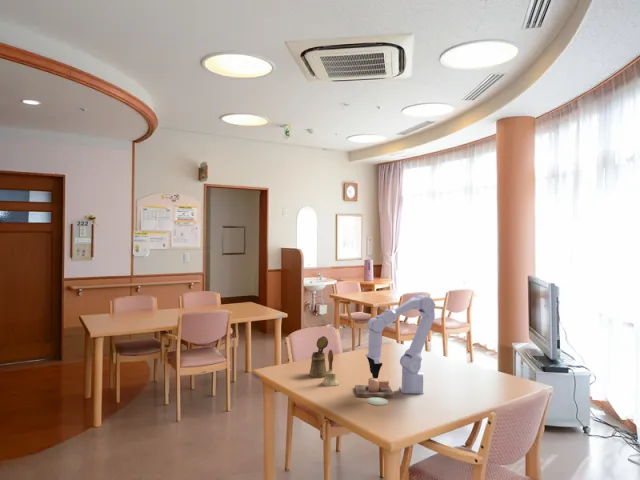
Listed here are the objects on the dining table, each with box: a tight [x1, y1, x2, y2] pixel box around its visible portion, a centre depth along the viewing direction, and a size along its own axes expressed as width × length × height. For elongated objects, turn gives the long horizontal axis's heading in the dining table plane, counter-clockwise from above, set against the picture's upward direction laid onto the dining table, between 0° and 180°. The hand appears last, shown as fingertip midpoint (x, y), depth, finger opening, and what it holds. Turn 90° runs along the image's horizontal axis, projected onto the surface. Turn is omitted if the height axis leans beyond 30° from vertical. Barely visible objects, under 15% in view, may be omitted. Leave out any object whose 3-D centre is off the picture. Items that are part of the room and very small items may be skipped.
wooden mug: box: [309, 335, 329, 379], centre depth 229 cm, size 9×14×18 cm, turn 163°
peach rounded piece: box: [367, 377, 390, 392], centre depth 202 cm, size 9×5×6 cm, turn 91°
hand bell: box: [321, 349, 340, 387], centre depth 214 cm, size 8×8×16 cm
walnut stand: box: [354, 384, 395, 399], centre depth 202 cm, size 16×12×2 cm
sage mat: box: [366, 397, 389, 406], centre depth 191 cm, size 9×9×1 cm
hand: (374, 375), depth 202 cm, fingers open, 7 cm apart
